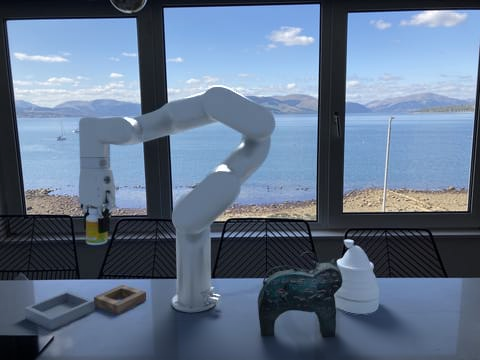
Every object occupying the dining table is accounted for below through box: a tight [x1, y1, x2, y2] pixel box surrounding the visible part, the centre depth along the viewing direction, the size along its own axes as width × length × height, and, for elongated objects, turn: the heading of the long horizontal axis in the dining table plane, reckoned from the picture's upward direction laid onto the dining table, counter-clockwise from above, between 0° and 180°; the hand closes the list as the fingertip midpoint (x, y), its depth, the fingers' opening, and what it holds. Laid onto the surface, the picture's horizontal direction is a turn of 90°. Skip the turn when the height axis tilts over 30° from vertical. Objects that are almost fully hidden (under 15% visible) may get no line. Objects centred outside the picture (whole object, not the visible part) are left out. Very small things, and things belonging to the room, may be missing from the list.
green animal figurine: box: [257, 251, 343, 338], centre depth 84 cm, size 20×6×20 cm, turn 90°
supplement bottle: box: [85, 206, 108, 246], centre depth 97 cm, size 5×5×10 cm
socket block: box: [93, 284, 147, 315], centre depth 101 cm, size 10×10×2 cm
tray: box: [24, 290, 96, 332], centre depth 94 cm, size 12×12×3 cm
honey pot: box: [334, 239, 380, 315], centre depth 99 cm, size 13×13×18 cm
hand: (96, 229), depth 97 cm, fingers closed on supplement bottle, 5 cm apart
